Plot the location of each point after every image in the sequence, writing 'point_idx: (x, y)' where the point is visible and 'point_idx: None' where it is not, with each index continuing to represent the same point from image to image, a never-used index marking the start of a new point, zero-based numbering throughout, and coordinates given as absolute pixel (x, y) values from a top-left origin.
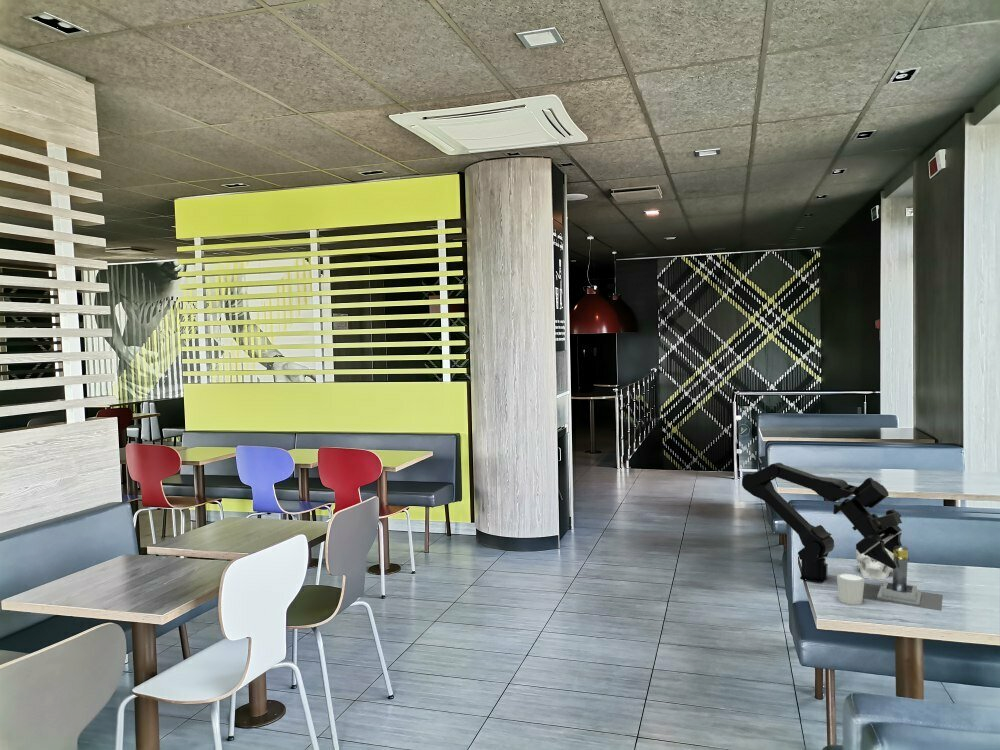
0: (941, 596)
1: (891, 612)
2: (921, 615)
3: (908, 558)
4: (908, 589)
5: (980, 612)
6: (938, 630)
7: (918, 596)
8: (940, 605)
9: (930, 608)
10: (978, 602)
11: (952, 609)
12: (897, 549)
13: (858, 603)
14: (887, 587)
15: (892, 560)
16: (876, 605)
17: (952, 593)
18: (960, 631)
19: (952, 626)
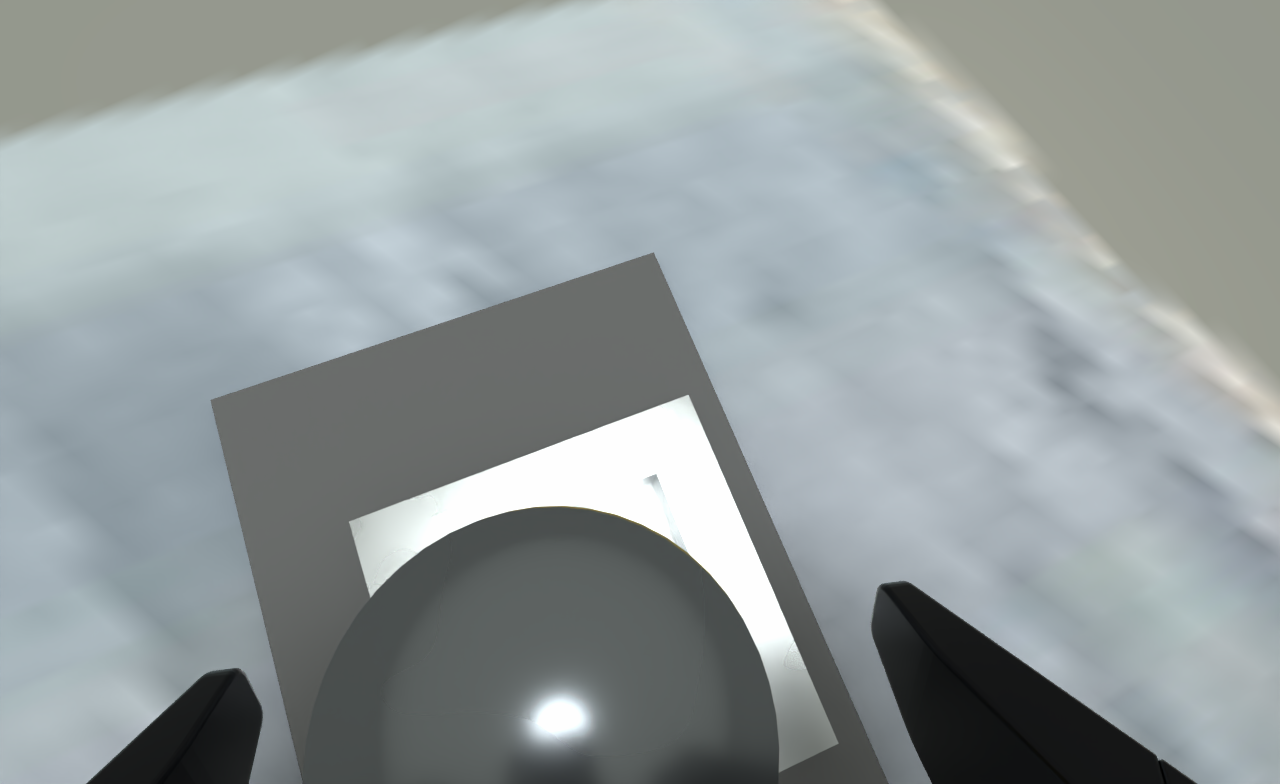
0: (269, 389)
1: (986, 493)
2: (845, 320)
3: (193, 688)
4: None
5: (426, 95)
6: (1015, 144)
7: (511, 479)
8: (534, 301)
9: (674, 321)
10: (179, 172)
11: (517, 233)
12: (777, 741)
13: None
14: None
15: (983, 666)
16: None
17: (56, 385)
18: (910, 61)
19: (868, 117)
